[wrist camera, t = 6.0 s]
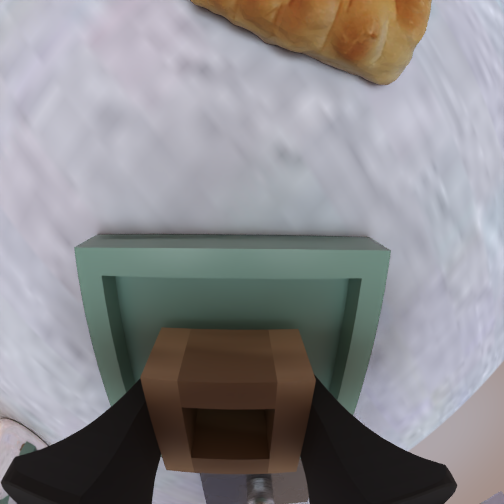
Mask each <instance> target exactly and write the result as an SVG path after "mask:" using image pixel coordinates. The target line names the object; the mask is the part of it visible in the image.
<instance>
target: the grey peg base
mask: <svg viewBox="0 0 504 504" xmlns="http://www.w3.org/2000/svg"><path fill="white" fill-rule="evenodd" d="M200 476H201V481H202V486H203V490H204V495H205V499H206V504H288V503H298V502H307V501H308V498H309V494H308V487H307V481H306V476H305V472H304V469H303V465H302V461H301V459H299V463H298V467H297V471H296V472H285V473H268V474H211V473H200Z"/></svg>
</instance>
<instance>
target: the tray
mask: <svg viewBox="0 0 504 504" xmlns="http://www.w3.org/2000/svg"><path fill="white" fill-rule="evenodd" d="M74 249H75V257H76V264H77V271H78V277H79V283H80V289H81V295H82V300H83V305H84V310H85V315H86V319H87V324H88V328H89V333H90V337H91V341H92V345H93V349H94V353H95V356H96V360H97V364H98V367H99V370H100V374H101V377H102V380H103V384H104V387H105V390H106V393H107V396H108V399H109V402H110V405H111V406H113V405H114V404H115V403H116V402H117V401H118V400H119V399H120V398H121V397H122V396H123V395H124V394H125V393H126V392H127V391H128V390H129V389H130V388H131V387H132V386H133V385H134V384H135V383H136V382H137V381H138V380H139V379H140V377H141V374H142V372H143V370H144V367H145V365H146V362H147V360H148V358H149V355H150V353H151V351H152V348H153V346H154V344H155V341H156V339H157V337H158V334H159V332H160V330H161V328H162V327H165V328H187V329H227V330H271V329H299V332H300V335H301V338H302V341H303V344H304V347H305V350H306V353H307V356H308V358H309V361H310V364H311V367H312V370H313V373H314V374H315V375H316V377H317V378H318V379H319V380H320V381H321V383H322V384H323V385H324V386H325V387H326V389H327V390H328V391H329V392H330V393H331V394H332V395H333V396H334V397H335V398H336V400H337V401H338V402H339V403H340V404H341V405H342V406H343V407H344V408H345V409H346V410H347V411H348V412H349V413H351V414H352V415H353V414H354V411H355V408H356V405H357V402H358V398H359V395H360V392H361V388H362V385H363V382H364V378H365V374H366V371H367V367H368V363H369V359H370V355H371V351H372V347H373V343H374V339H375V335H376V330H377V326H378V321H379V316H380V311H381V306H382V301H383V296H384V291H385V285H386V279H387V273H388V266H389V260H390V253H391V250H389V249H387V248H386V247H384V246H383V245H381V244H379V243H378V242H376V241H374V240H373V239H371V238H369V237H342V236H296V235H220V234H104V235H96V236H94V237H92V238H90V239H88V240H87V241H85V242H83V243H81V244H80V245H78V246H76V247H74ZM161 457H162V455H161ZM300 459H301V458H300Z"/></svg>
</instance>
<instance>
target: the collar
mask: <svg viewBox="0 0 504 504" xmlns="http://www.w3.org/2000/svg"><path fill="white" fill-rule="evenodd" d="M140 379H141V383H142V387H143V391H144V395H145V399H146V403H147V407H148V411H149V415H150V418H151V422H152V425H153V429H154V432H155V436H156V439H157V442H158V446H159V449H160V452H161V455H162V458H163V461H164V464H165V467H166V470H172V471H182V472H194V473H211V474H268V473H285V472H296V471H297V467H298V463H299V459H300V455H301V450H302V446H303V442H304V437H305V433H306V428H307V423H308V418H309V414H310V409H311V404H312V398H313V393H314V388H315V382H316V379H315V376H314V373H313V370H312V367H311V364H310V361H309V358H308V356H307V353H306V350H305V347H304V344H303V341H302V338H301V335H300V332H299V329H271V330H227V329H187V328H165V327H162V328H161V330H160V332H159V334H158V337H157V339H156V341H155V344H154V346H153V348H152V351H151V353H150V355H149V358H148V360H147V362H146V365H145V367H144V370H143V372H142V374H141V377H140Z"/></svg>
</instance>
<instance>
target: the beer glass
mask: <svg viewBox="0 0 504 504" xmlns="http://www.w3.org/2000/svg"><path fill="white" fill-rule="evenodd" d="M45 447H48V445H47V444H46V443H45V442H43V441H42V440H41V439H40V438H39V437H38V436H37V435H35V434H34V433H33V432H31V431H30V430H29V429H27V428H26V427H24V426H23V425H21V424H19V423H17V422H15V421H13V420H10V419H5V418H3V419H0V504H17V503H16V502H15V501H14V500H13V499H12V498H11V497H10V496H9V495H8V494H7V493H6V492H5V490H4V489H3V487H2V485H1V480H2V478H3V477H4V475H5V473H6V471H7V469H8V468H9V466H10V464H11V462H12V461H13V459H14V457H16V456H20V455H24V454H27V453H31V452H34V451H37V450H40V449H43V448H45Z"/></svg>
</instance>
